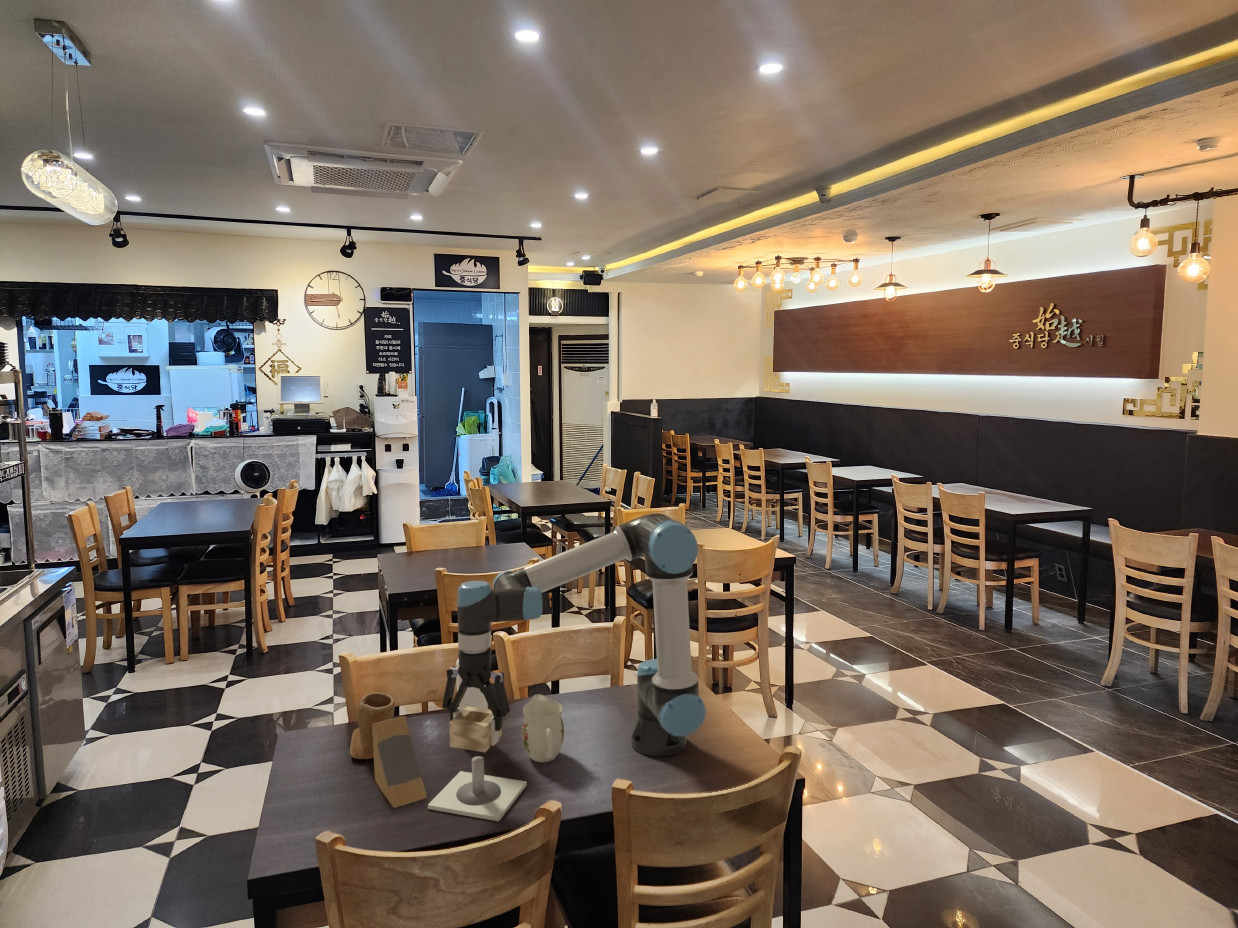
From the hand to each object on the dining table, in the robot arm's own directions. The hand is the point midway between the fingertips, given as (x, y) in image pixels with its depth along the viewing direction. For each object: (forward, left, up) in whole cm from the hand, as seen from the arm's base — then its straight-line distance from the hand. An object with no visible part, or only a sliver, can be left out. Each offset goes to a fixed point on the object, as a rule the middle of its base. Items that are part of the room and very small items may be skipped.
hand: (476, 739), depth 186 cm
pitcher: (-8, -22, -15) cm, 28 cm away
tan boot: (+38, -14, -15) cm, 43 cm away
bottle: (+14, -25, -15) cm, 32 cm away
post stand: (0, 0, -14) cm, 14 cm away
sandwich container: (+20, +2, -15) cm, 25 cm away
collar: (0, 0, 0) cm, 0 cm away
